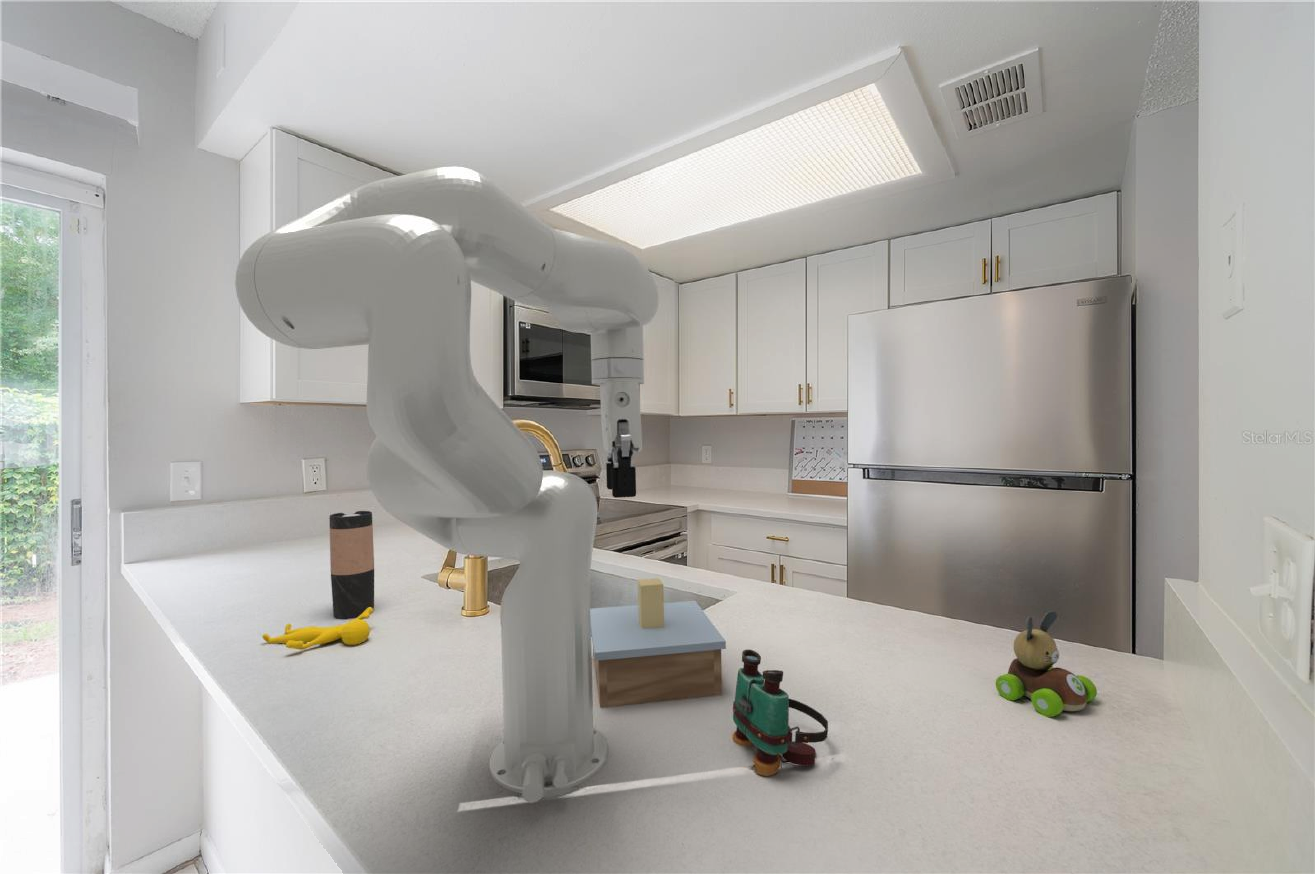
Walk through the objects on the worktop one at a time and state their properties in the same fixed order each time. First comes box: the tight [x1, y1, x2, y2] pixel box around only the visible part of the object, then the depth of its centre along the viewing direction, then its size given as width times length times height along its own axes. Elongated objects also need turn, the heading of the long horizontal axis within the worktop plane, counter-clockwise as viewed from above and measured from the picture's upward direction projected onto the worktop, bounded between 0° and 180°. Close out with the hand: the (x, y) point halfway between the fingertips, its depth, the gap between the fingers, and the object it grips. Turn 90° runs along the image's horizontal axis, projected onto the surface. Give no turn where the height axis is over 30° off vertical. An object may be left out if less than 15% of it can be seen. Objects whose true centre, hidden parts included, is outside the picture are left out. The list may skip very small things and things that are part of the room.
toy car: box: [995, 610, 1098, 718], centre depth 71 cm, size 9×9×11 cm
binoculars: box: [732, 648, 829, 776], centre depth 61 cm, size 9×11×10 cm
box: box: [592, 648, 723, 708], centre depth 79 cm, size 16×16×7 cm
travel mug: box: [329, 510, 375, 620], centre depth 110 cm, size 8×8×20 cm
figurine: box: [262, 607, 374, 650], centre depth 96 cm, size 14×5×18 cm
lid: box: [590, 577, 727, 661], centre depth 79 cm, size 17×17×7 cm
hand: (620, 492), depth 79 cm, fingers open, 9 cm apart
